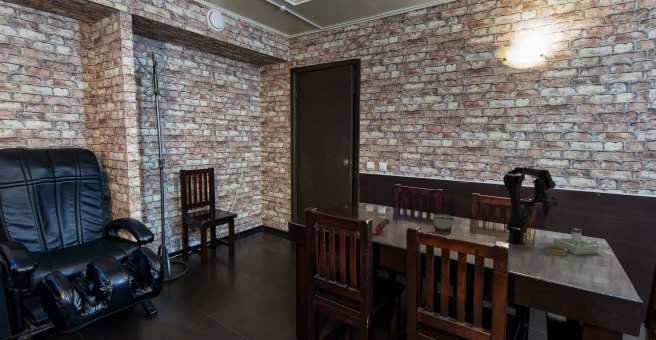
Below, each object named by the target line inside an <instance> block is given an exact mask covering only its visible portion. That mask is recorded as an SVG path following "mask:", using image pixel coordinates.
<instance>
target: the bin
mask: <svg viewBox="0 0 656 340" xmlns="http://www.w3.org/2000/svg"><path fill="white" fill-rule="evenodd" d="M552 245H555V246H561V247H563V248H566V249H567V253H570V254H573V255H589V254H590V255H591V254H598V253H599V247H600V246H599V244H595V243H592V242H589V241H587V240H584V239H581V244H580V246H574V245H572V244H571V237H556V238H553V244H552Z"/></svg>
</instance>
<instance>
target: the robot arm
mask: <svg viewBox="0 0 656 340" xmlns="http://www.w3.org/2000/svg"><path fill="white" fill-rule="evenodd" d="M519 174H520V175H519ZM526 175H527V176H531V178H534V180H533V181H532V184H533V191H531V194H532V198H531V199H522V198H521V192H520V189H521V187H522V186H523V182H524V181H525V179H526ZM502 182H503V184H504V186H505V189H507V191H508V194H509V201H510V207H511V213H512V214H511V216H510V217H509V220H508V223H507V225H506V226H505V228H506V231H508V239H506V241H507V242H508V243H511V244H513V245H525V244H526V243H525V242H524V237H525V234H527V232H528V228H529V218H533V209H535V205H542V212H543V213H542V215H543V217H544V218H547V215H548V214H549V212H550V210H551V209H553V208H555V207H556V206H558V202H557V197H555V196H551V197H550V196H548V192H547V191H549V190H554V189H555V188H556V187H557V185H556V182H555V180H553V177H552V176H551V174H550V171H549V169H545V168H544V169H543V168H530V167H526V166H515V167H514V168H513V169H512V170H509V171H507V173H506V174H505V175H504V176H503V179H502ZM523 207H524V208H525V210H526V212H527V214H524V213H523Z"/></svg>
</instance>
